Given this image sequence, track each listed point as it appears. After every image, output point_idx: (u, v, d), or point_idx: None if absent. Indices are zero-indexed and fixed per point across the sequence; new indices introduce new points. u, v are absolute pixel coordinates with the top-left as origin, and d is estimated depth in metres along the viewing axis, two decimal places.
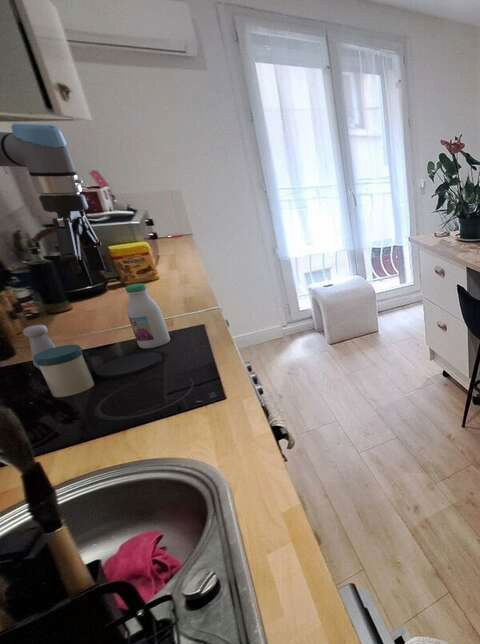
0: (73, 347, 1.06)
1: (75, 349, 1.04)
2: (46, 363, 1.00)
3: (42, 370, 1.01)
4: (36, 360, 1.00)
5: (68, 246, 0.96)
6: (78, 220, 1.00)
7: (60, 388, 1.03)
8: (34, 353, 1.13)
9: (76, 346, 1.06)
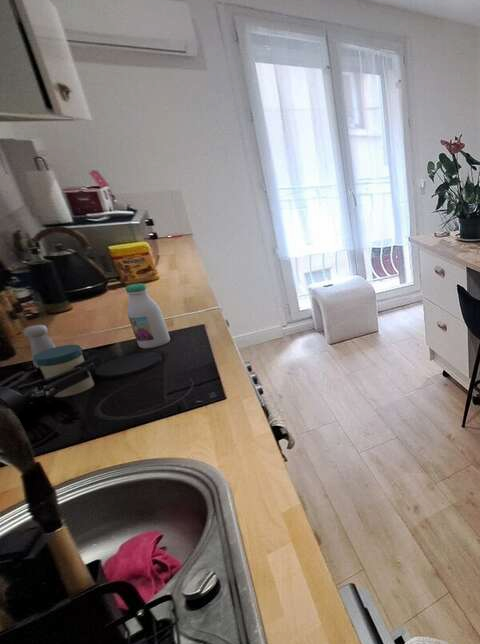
0: (73, 347, 1.06)
1: (75, 349, 1.04)
2: (46, 363, 1.00)
3: (42, 370, 1.01)
4: (36, 360, 1.00)
5: None
6: None
7: None
8: (34, 353, 1.13)
9: (76, 346, 1.06)
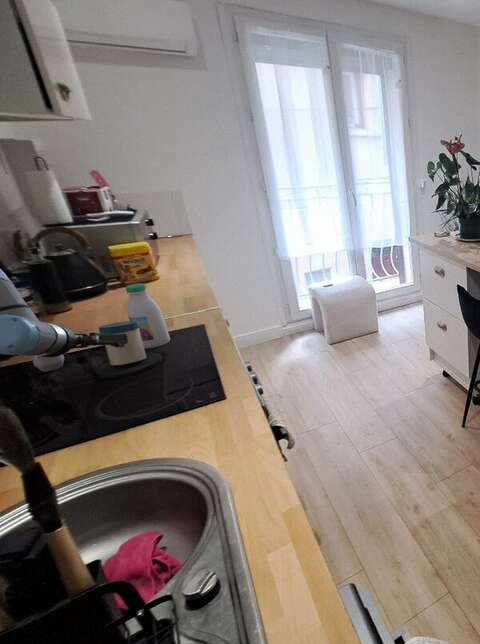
0: (132, 321, 1.18)
1: (134, 322, 1.17)
2: (110, 331, 1.12)
3: None
4: (101, 329, 1.12)
5: None
6: None
7: (118, 356, 1.14)
8: None
9: (135, 321, 1.19)
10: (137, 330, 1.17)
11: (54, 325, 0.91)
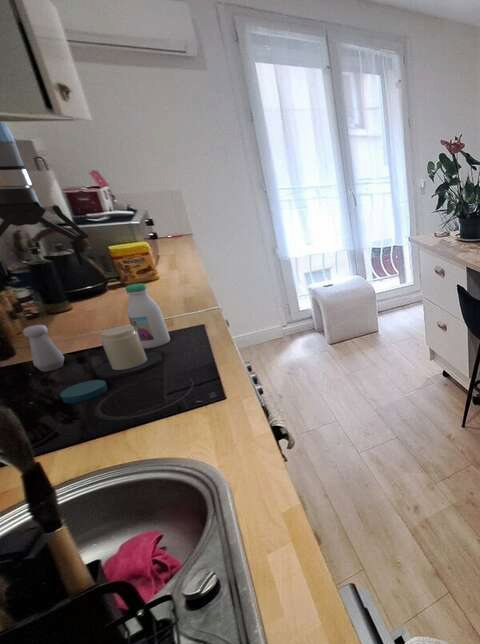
0: (69, 394, 1.01)
1: (63, 392, 1.02)
2: None
3: (104, 345, 1.12)
4: None
5: None
6: None
7: (119, 362, 1.14)
8: (34, 353, 1.13)
9: (65, 395, 1.01)
10: (136, 334, 1.16)
11: None
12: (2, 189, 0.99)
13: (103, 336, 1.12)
